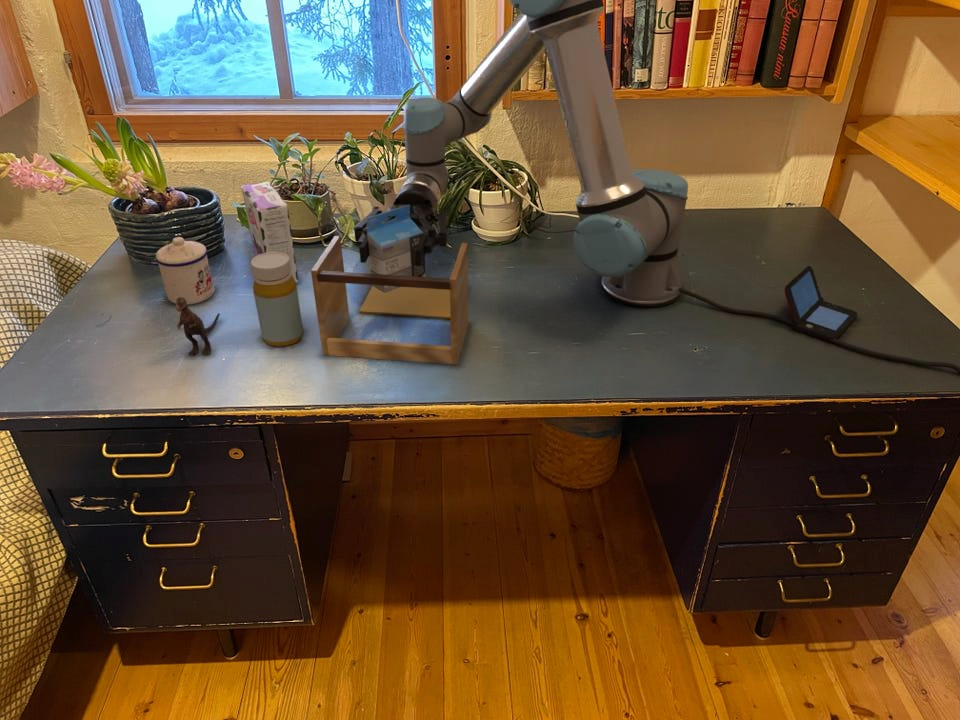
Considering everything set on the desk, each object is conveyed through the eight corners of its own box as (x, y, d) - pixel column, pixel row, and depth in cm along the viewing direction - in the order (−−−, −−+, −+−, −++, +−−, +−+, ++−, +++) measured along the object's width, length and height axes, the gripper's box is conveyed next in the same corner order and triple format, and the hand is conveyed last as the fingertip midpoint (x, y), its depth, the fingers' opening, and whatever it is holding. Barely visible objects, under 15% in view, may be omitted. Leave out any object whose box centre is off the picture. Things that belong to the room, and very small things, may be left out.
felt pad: (465, 287, 144) (465, 286, 144) (455, 319, 135) (455, 317, 134) (375, 282, 146) (375, 280, 146) (359, 312, 136) (359, 310, 136)
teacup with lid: (208, 306, 138) (195, 249, 132) (159, 306, 138) (143, 249, 132) (225, 276, 148) (214, 222, 142) (180, 276, 148) (166, 222, 142)
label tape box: (384, 294, 122) (379, 225, 115) (370, 285, 125) (364, 217, 118) (426, 278, 127) (424, 210, 120) (412, 269, 129) (408, 203, 122)
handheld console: (834, 345, 128) (846, 307, 123) (773, 323, 133) (782, 287, 129) (858, 317, 135) (870, 281, 131) (800, 298, 141) (809, 263, 137)
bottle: (259, 331, 131) (244, 255, 122) (299, 323, 133) (287, 247, 125) (266, 351, 126) (251, 273, 117) (307, 343, 128) (295, 265, 119)
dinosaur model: (168, 302, 116) (194, 263, 128) (180, 366, 121) (203, 323, 134) (194, 302, 116) (217, 264, 129) (205, 366, 122) (226, 324, 135)
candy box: (254, 260, 154) (239, 184, 145) (282, 254, 156) (270, 179, 147) (270, 289, 144) (256, 209, 135) (300, 282, 146) (288, 203, 137)
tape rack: (468, 324, 133) (467, 243, 124) (457, 365, 122) (455, 279, 113) (344, 316, 135) (334, 235, 126) (322, 355, 125) (310, 270, 116)
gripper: (473, 224, 138) (456, 281, 119) (362, 218, 140) (328, 273, 121) (473, 185, 133) (455, 238, 115) (359, 180, 135) (322, 231, 117)
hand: (390, 256), depth 118 cm, fingers closed on label tape box, 8 cm apart
